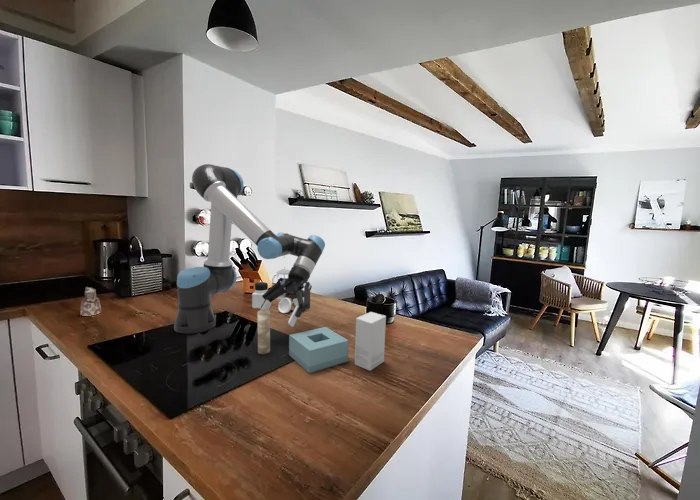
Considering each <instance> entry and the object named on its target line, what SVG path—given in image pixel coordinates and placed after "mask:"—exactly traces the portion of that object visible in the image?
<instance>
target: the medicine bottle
mask: <svg viewBox="0 0 700 500" xmlns="http://www.w3.org/2000/svg"><path fill="white" fill-rule="evenodd" d="M268 286H269V285H268V282H266V281H256V282H255V284H254V292H253V293H252V294H251V308H252V309H261V306H262V304H263V302H264V301H265V299H264V298H263V297H262V295H263V294H264V293H266V292H267V291H268V290H269V288H268ZM269 299H270V298H269Z"/></svg>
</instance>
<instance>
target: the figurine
mask: <svg viewBox="0 0 700 500" xmlns="http://www.w3.org/2000/svg"><path fill="white" fill-rule="evenodd" d="M96 291H97V289H95V288H93V287H89V286H86V287H85V290H84V297H83V298H82V300H81V302H80V309H79V310H80V316H81V315H82V316H91V315H96V314H99V313H101V312H102V306H101V301H100V300H101V299H100V298H99V297H97V292H96ZM101 314H102V313H101ZM99 315H100V314H99Z"/></svg>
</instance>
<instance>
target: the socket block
mask: <svg viewBox="0 0 700 500" xmlns="http://www.w3.org/2000/svg"><path fill="white" fill-rule="evenodd" d="M288 336H289V337H288V349H289V351H288V355H289V356H290V358H291V359H293V360H294V361H295V362H296V363H297V364H298V365H300V366H301V368H303V369H304V370H305V371H306V372H308V374H311V373H315V372H319V371H321V370H324V369H327V368H330V367H331V368H332V367H333V366H337V365H340V364H344V363H346V362H349V339H347V338H345V337H343V336H341V335H340V334H338V333H337V332H335V331H333V330H332V329H330V328H329V327H327V326H323V327H319V328H318V327H317V328H314V329H311V330H310V329H309V330H306V331H301V332H296V333H290V334H288Z"/></svg>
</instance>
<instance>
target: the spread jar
mask: <svg viewBox="0 0 700 500" xmlns="http://www.w3.org/2000/svg"><path fill="white" fill-rule="evenodd" d="M301 292H302V298H303V302H304V288H303V289H301ZM296 306H298V307H299V304H298V300H297V296H296V293H295V294H294V293H288V292H287V293H286V294H285V298H283V299H279V302H278V304H277V308H278V311H279V312H280V313H282V314H287V313H289V312H291V313H293V311H294V309H295V307H296Z"/></svg>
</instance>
